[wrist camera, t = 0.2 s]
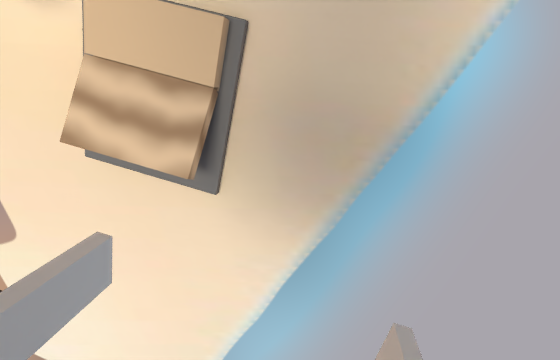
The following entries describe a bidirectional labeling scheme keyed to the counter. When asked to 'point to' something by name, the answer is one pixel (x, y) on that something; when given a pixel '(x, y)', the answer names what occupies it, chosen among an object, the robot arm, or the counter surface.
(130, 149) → the plank
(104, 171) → the counter surface
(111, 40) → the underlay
